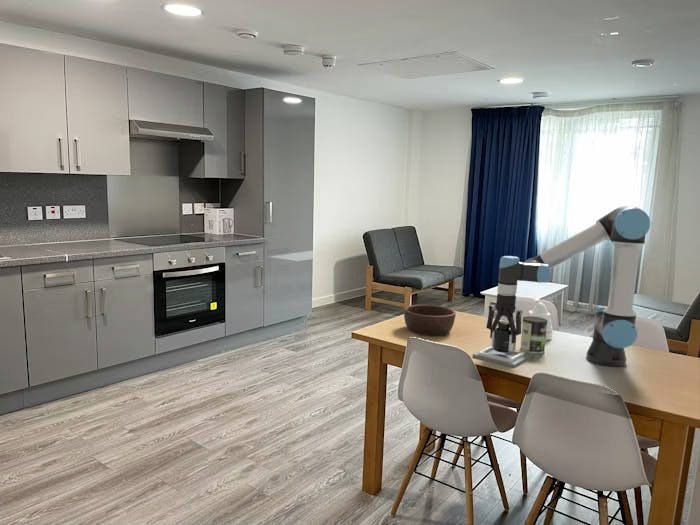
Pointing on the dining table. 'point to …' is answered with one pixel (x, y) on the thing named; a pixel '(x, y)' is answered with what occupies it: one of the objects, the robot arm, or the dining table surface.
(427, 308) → the wooden bowl
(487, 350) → the board
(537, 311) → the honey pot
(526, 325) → the coffee can
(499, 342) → the supplement bottle
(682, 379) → the dining table surface
